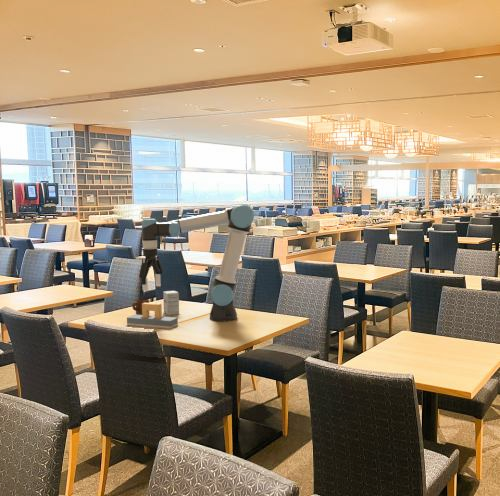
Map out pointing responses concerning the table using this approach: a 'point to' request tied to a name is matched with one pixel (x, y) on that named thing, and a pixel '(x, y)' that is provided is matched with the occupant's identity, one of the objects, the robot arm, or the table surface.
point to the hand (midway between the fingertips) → (151, 288)
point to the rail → (152, 321)
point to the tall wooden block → (152, 307)
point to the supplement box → (171, 302)
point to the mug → (139, 305)
